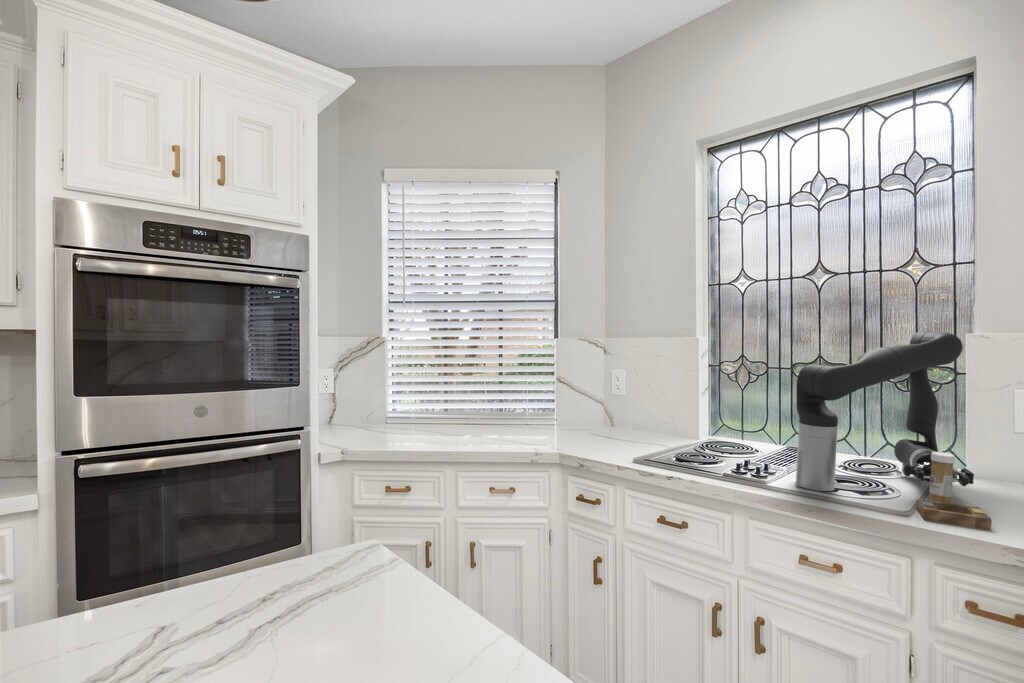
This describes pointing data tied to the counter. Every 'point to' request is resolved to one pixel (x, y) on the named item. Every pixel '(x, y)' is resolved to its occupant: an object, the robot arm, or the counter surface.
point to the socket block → (953, 514)
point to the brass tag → (977, 511)
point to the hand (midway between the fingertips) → (943, 479)
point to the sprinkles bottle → (941, 477)
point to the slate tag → (927, 504)
